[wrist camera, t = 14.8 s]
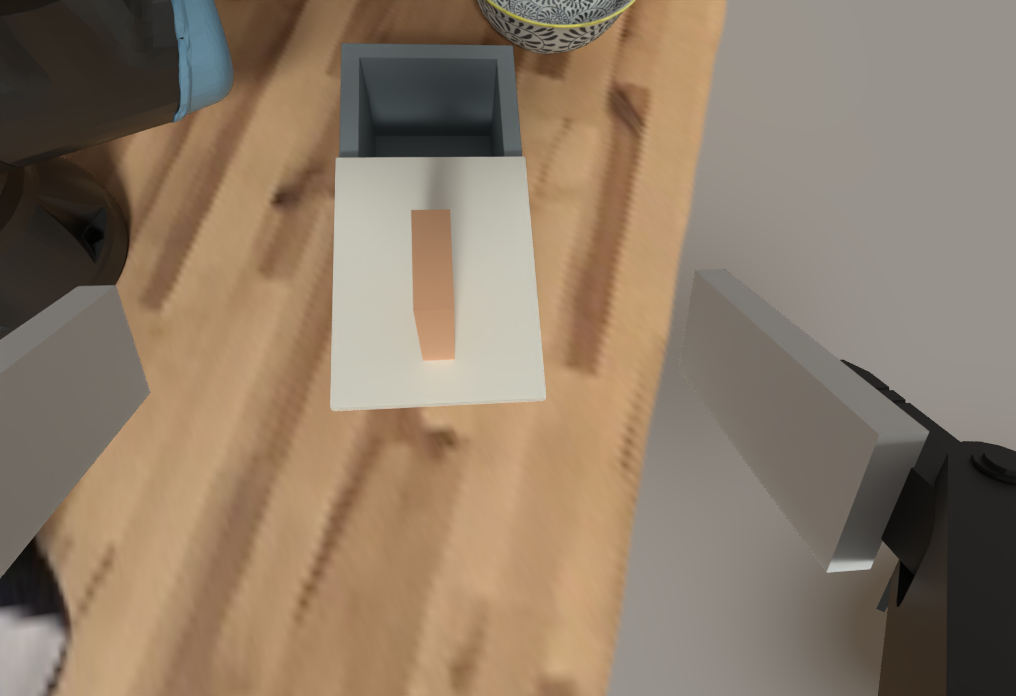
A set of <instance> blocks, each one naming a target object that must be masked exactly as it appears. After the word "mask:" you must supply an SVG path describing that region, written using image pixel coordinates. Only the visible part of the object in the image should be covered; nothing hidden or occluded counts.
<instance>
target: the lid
mask: <svg viewBox="0 0 1016 696" xmlns="http://www.w3.org/2000/svg"><path fill="white" fill-rule="evenodd" d="M545 399H546V389H545V378H544V366H543V355H542V344H541V332H540V321H539V310H538V298H537V287H536V275H535V264H534V253H533V241H532V230H531V219H530V207H529V196H528V184H527V173H526V162H525V157H372V158H336V171H335V217H334V262H333V308H332V354H331V399H330V409H331V410H332V411H348V410H368V409H389V408H409V407H430V406H450V405H471V404H491V403H512V402H532V401H545Z"/></svg>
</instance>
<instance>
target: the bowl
mask: <svg viewBox="0 0 1016 696" xmlns="http://www.w3.org/2000/svg"><path fill="white" fill-rule="evenodd" d="M635 1H636V0H477V3H478V5H479V7H480V9H481V11H482V12H483V14H484V16H485V17H486V19H487V20H488V22H489V23H490V24H491V25H492V26H493V27H494V28H495V29H496V30H497V32H499V33H500V34H501V35H502V36H503V37H505V38H506V39H508V40H509V41H511V42H512V43H514V44H516V45H518V46H520V47H522V48H525V49H527V50H530V51H532V52H536V53H544V54H549V53H562V52H568V51H571V50H575V49H578V48H580V47H583V46H585V45H587V44H589V43H591V42H592V41H594V40H595V39H597V38H598V37H600V36H601V35H602V34H603V33H604V32H605V31H606V30H607V29H608V28H609V27H610V26H611V25H612V24H613V23H614V22H615V21H616V20H617V18H618V17H619V16H620V15H621V14H622V12H623V11H624V10H626V9H627V8H628V7H629V6H630V5H632V4H633V3H634V2H635Z"/></svg>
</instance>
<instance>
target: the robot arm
mask: <svg viewBox="0 0 1016 696" xmlns="http://www.w3.org/2000/svg"><path fill="white" fill-rule="evenodd" d="M233 79H234V71H233V65H232V59H231V55H230V51H229V47H228V44H227V40H226V37H225V33H224V30H223V27H222V24H221V21H220V18H219V14H218V11H217V8H216V5H215V3H214V0H0V578H1V577H2V575H3V574H4V573H5V572H6V570H7V569H8V568H9V567H10V565H11V564H12V563H13V562H14V560H15V559H16V558H17V557H18V556H19V554H20V553H21V552H22V551H23V549H24V548H25V547H26V546H27V544H28V543H29V542H30V541H31V539H32V538H33V537H34V536H35V535H36V533H37V532H38V531H39V530H40V528H41V527H42V526H43V525H44V523H45V522H46V521H47V520H48V518H49V517H50V516H51V515H52V514H53V512H54V511H55V510H56V509H57V507H58V506H59V505H60V504H61V502H62V501H63V500H64V499H65V497H66V496H67V495H68V494H69V493H70V491H71V490H72V489H73V488H74V486H75V485H76V484H77V483H78V481H79V480H80V479H81V478H82V476H83V475H84V474H85V473H86V472H87V470H88V469H89V468H90V467H91V465H92V464H93V463H94V462H95V460H96V459H97V458H98V457H99V455H100V454H101V453H102V452H103V451H104V449H105V448H106V447H107V446H108V444H109V443H110V442H111V441H112V439H113V438H114V437H115V436H116V434H117V433H118V432H119V431H120V430H121V428H122V427H123V426H124V425H125V423H126V422H127V421H128V420H129V418H130V417H131V416H132V415H133V413H134V412H135V411H136V410H137V409H138V407H139V406H140V405H141V404H142V402H143V401H144V400H145V399H146V397H147V396H148V395H149V394H150V390H149V387H148V384H147V381H146V378H145V374H144V371H143V368H142V365H141V362H140V359H139V356H138V353H137V350H136V347H135V344H134V340H133V337H132V334H131V331H130V328H129V325H128V322H127V319H126V316H125V313H124V309H123V306H122V303H121V300H120V297H119V294H118V291H117V288H116V285H114V284H115V283H116V281H117V279H118V277H119V275H120V273H121V270H122V268H123V265H124V261H125V257H126V252H127V242H128V239H127V228H126V223H125V220H124V217H123V214H122V212H121V209H120V208H119V206H118V204H117V203H116V201H115V200H114V198H113V197H112V196H111V195H110V194H109V193H108V192H107V190H106V189H104V188H103V187H102V186H101V185H100V184H99V183H98V182H97V181H96V180H95V179H94V178H93V177H92V176H91V175H90V174H89V173H87V172H86V171H85V170H83V169H82V168H80V167H79V166H77V165H76V164H74V163H72V162H71V161H69V160H67V159H65V158H62V157H60V156H62V155H65V154H68V153H72V152H75V151H78V150H82V149H85V148H88V147H91V146H95V145H98V144H101V143H104V142H108V141H111V140H114V139H118V138H121V137H124V136H127V135H131V134H134V133H137V132H140V131H144V130H147V129H150V128H154V127H157V126H160V125H163V124H167V123H170V122H177V121H180V120H182V119H183V118H184V117H185V115H187V114H190V113H192V112H195V111H197V110H200V109H202V108H204V107H207V106H209V105H212V104H214V103H217V102H219V101H221V100H222V99H224V98H225V97H226V96H227V95H228V93H229V92H230V90H231V88H232V85H233ZM678 370H679V371H680V373H681V374H682V376H683V377H684V378H685V380H686V381H687V382H688V384H689V385H690V386H691V388H692V389H693V391H694V392H695V393H696V395H697V396H698V397H699V399H700V400H701V402H702V403H703V404H704V406H705V407H706V408H707V410H708V411H709V412H710V414H711V415H712V417H713V418H714V419H715V421H716V422H717V423H718V425H719V426H720V428H721V429H722V430H723V431H724V433H725V434H726V436H727V437H728V438H729V440H730V441H731V443H732V444H733V445H734V447H735V448H736V449H737V451H738V452H739V453H740V455H741V456H742V458H743V459H744V460H745V462H746V463H747V464H748V466H749V467H750V468H751V470H752V471H753V472H754V474H755V475H756V477H757V478H758V479H759V481H760V482H761V484H762V485H763V486H764V488H765V489H766V490H767V492H768V493H769V494H770V496H771V497H772V499H773V500H774V501H775V503H776V504H777V505H778V507H779V508H780V510H781V511H782V512H783V514H784V515H785V516H786V518H787V519H788V520H789V522H790V523H791V525H792V526H793V527H794V529H795V530H796V531H797V533H798V534H799V536H800V537H801V538H802V540H803V541H804V542H805V544H806V545H807V547H808V548H809V549H810V551H811V552H812V553H813V555H814V556H815V557H816V559H817V560H818V561H819V563H820V564H821V566H822V567H823V568H824V570H825V571H826V572H838V571H851V570H863V569H870V568H871V566H872V564H873V562H874V559H875V557H876V555H877V552H878V550H879V548H880V545H881V543H882V541H883V542H884V543H885V544H886V545H887V546H888V547H889V548H890V549H891V550H892V552H893V553H894V554H895V555H896V556H897V557H898V558H899V561H898V563H897V565H896V567H895V569H894V572H893V574H892V576H891V578H890V580H889V583H888V585H887V587H886V589H885V591H884V593H883V596H882V598H881V600H880V602H879V604H878V606H877V609H878V610H881V611H883V612H885V610H886V608H887V607H888V611H887V620H886V629H885V638H884V646H883V647H884V648H883V656H882V665H881V673H880V682H879V691H878V696H1016V451H1013V450H1010V449H1007V448H1005V447H1002V446H999V445H994V444H989V443H984V442H973V441H971V442H970V441H963V442H960V441H958V440H957V439H956V438H955V437H953V436H952V435H951V434H949V433H948V432H947V431H945V430H944V429H943V428H941V427H940V426H939V425H938V424H936V423H935V422H934V421H932V420H931V419H930V418H929V417H927V416H926V415H925V414H923V413H922V412H921V411H919V410H918V409H917V408H915V407H914V406H913V405H911V404H910V403H906V402H905V399H904V398H903V397H901V396H900V395H899V394H897V393H896V392H895V391H893V390H889V387H888V386H887V385H886V384H884V383H883V382H882V381H880V380H879V379H878V378H876V377H875V376H874V375H873V374H871V373H870V372H868V371H866V370H864V369H862V368H860V367H858V366H855V365H853V364H851V363H849V362H847V361H845V360H839V359H838V358H836V357H835V356H834V355H833V354H831V353H830V352H829V351H828V350H826V349H825V348H824V347H823V346H821V345H820V344H819V343H818V342H816V341H815V340H814V339H813V338H811V337H810V336H809V335H807V334H806V333H805V332H804V331H802V330H801V329H800V328H799V327H797V326H796V325H795V324H794V323H792V322H791V321H790V320H789V319H787V318H786V317H785V316H784V315H782V314H781V313H780V312H779V311H777V310H776V309H775V308H773V307H772V306H771V305H770V304H769V303H767V302H766V301H765V300H764V299H762V298H761V297H760V296H758V295H757V294H756V293H755V292H753V291H752V290H751V289H750V288H748V287H747V286H746V285H745V284H743V283H742V282H741V281H740V280H738V279H737V278H736V277H734V276H733V275H732V274H731V273H730V272H728V271H727V270H725V269H717V270H716V269H714V270H695V273H694V279H693V285H692V291H691V296H690V302H689V308H688V314H687V320H686V326H685V331H684V337H683V343H682V348H681V354H680V361H679V366H678Z"/></svg>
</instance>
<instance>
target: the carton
mask: <svg viewBox="0 0 1016 696" xmlns="http://www.w3.org/2000/svg"><path fill="white" fill-rule="evenodd" d="M372 157H522V147H521V136H520V124H519V112H518V101H517V89H516V78H515V66H514V55H513V46H511V45H439V44H368V43H342V49H341V99H340V150H339V158H372Z"/></svg>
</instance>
